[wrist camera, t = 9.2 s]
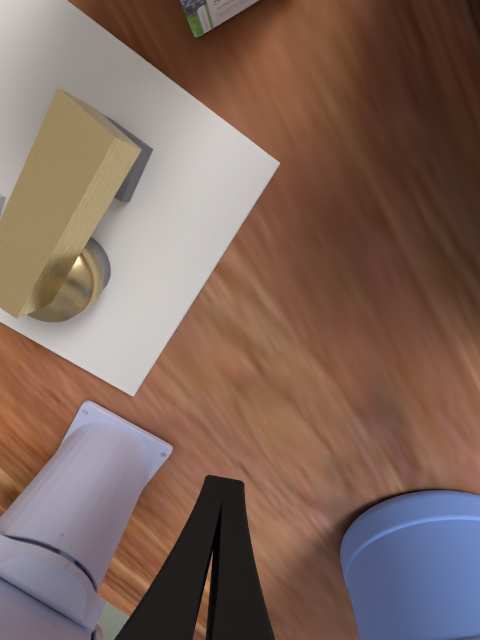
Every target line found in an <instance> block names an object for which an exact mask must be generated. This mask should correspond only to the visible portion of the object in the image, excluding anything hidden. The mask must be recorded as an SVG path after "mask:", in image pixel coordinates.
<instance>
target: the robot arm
mask: <svg viewBox="0 0 480 640" xmlns="http://www.w3.org/2000/svg"><path fill="white" fill-rule="evenodd" d="M172 450H173V447H172V445H170V444H169V443H167V442H165V441H163V440H161V439H160V438H158V437H156V436H154V435H152V434H150V433H149V432H147V431H145V430H143V429H141V428H140V427H138V426H136V425H134V424H132V423H130V422H129V421H127V420H125V419H123V418H121V417H119V416H118V415H116V414H114V413H112V412H110V411H109V410H107V409H105V408H103V407H101V406H99V405H98V404H96V403H94V402H92V401H85V402H84V403H83V404H82V405H81V407H80V409H79V411H78V413H77V415H76V417H75V418H74V420H73V422H72V424H71V426H70V428H69V430H68V431H67V433H66V435H65V437H64V439H63V441H62V443H61V444H60V446H59V448H58V450H57V452H56V453H55V454H54V455H53V457H52V458H51V459H50V460H49V461H48V462H47V464H46V465H45V466H44V467H43V468H42V469H41V471H40V472H39V473H38V474H37V475H36V476H35V478H34V479H33V480H32V481H31V482H30V483H29V485H28V486H27V487H26V488H25V489H24V490H23V492H22V493H21V494H20V495H19V496H18V497H17V499H16V500H15V501H14V502H13V503H12V505H11V506H10V507H9V508H8V509H7V510H6V512H5V513H4V514H3V515H2V516H1V517H0V640H103V633H102V630H101V628H100V627H99V626H98V624H97V622H98V619H99V617H100V615H101V612H102V610H103V607H104V605H105V600H103V599H102V598H101V597H100V596H99V595H98V594H97V593H98V590H99V588H100V586H101V584H102V581H103V579H104V577H105V574H106V572H107V570H108V568H109V565H110V563H111V561H112V558H113V556H114V554H115V552H116V549H117V547H118V545H119V542H120V540H121V538H122V535H123V533H124V531H125V529H126V526H127V524H128V522H129V519H130V517H131V515H132V513H133V510H134V508H135V506H136V503H137V501H138V499H139V497H140V494H141V492H142V490H143V488H144V487H145V486H146V484H147V483H148V482H149V481H150V479H151V478H152V477H153V476H154V474H155V473H156V472H157V471H158V469H159V468H160V467H161V466H162V464H163V463H164V462H165V461H166V459H167V458H168V457H169V456H170V454H171V453H172ZM212 552H213V559H212V570H211V582H210V594H209V606H208V618H207V630H206V640H275V638H274V634H273V631H272V627H271V624H270V620H269V617H268V613H267V609H266V606H265V602H264V598H263V594H262V590H261V586H260V582H259V577H258V573H257V569H256V564H255V560H254V555H253V549H252V544H251V539H250V534H249V528H248V521H247V514H246V505H245V492H244V483H243V482H242V481H240V480H234V479H229V478H223V477H218V476H213V475H208V476H206V477H205V481H204V484H203V487H202V490H201V492H200V495H199V497H198V499H197V502H196V504H195V506H194V508H193V510H192V513H191V515H190V517H189V519H188V521H187V523H186V525H185V526H184V528H183V530H182V532H181V534H180V536H179V538H178V540H177V542H176V544H175V545H174V547H173V549H172V550H171V552H170V554H169V556H168V557H167V559H166V561H165V563H164V564H163V566H162V568H161V569H160V571H159V573H158V574H157V576H156V578H155V579H154V581H153V582H152V584H151V586H150V587H149V589H148V590H147V592H146V593H145V595H144V597H143V598H142V600H141V601H140V603H139V604H138V606H137V607H136V609H135V610H134V612H133V613H132V615H131V616H130V618H129V619H128V620H127V622H126V624H125V625H124V626H123V628H122V629H121V631H120V632H119V634H118V635H117V636H116V638H115V639H114V640H192V639H193V634H194V630H195V625H196V621H197V617H198V612H199V608H200V604H201V599H202V595H203V591H204V586H205V582H206V578H207V573H208V569H209V565H210V560H211V556H212Z"/></svg>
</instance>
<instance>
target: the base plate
mask: <svg viewBox="0 0 480 640" xmlns="http://www.w3.org/2000/svg"><path fill="white" fill-rule="evenodd" d="M58 87H59V88H61V89H62V90H64V91H66V92H68V93H69V94H71V95H73V96H75V97H76V98H78V99H80V100H82V101H83V102H85V103H87V104H89V105H90V106H92V107H94V108H96V109H97V110H98V111H99V112H100V113H101V114H103V115H104V116H105V117H106V118H107V119H108V120H109V121H110V122H111V123H113V124H114V125H115V126H116V127H117V128H118V129H119V130H120V131H122V132H123V133H124V134H125V135H126V136H127V137H128V138H129V139H130V140H132V141H133V142H134V143H135V144H136V145H137V146H138V147H139V148H140V149H142V150H141V152H140V154H139V155H138V157H137V159H136V160H135V162H134V164H133V166H132V167H131V169H130V171H129V172H128V174H127V176H126V177H125V179H124V181H123V182H122V184H121V186H120V188H119V189H118V191H117V193H116V194H115V196H114V198H113V199H112V201H111V203H110V205H109V206H108V208H107V210H106V211H105V213H104V215H103V216H102V218H101V220H100V221H99V223H98V225H97V227H96V228H95V230H94V232H93V233H92V235H91V237H90V238H89V240H88V243H89V244H90V245H91V247H92V248H93V249H94V251H95V253H96V254H97V256H98V258H99V260H100V263H101V266H102V270H103V276H104V284H103V290H102V293H101V295H100V297H99V299H98V300H97V302H96V303H95V304H94V305H93V306H91V307H90V308H88V309H87V310H85V311H83V312H81V313H80V314H78V315H76V316H74V317H73V318H71V319H69V320H66V321H63V322H56V323H53V322H44V321H40V320H37V319H34V318H32V317H30V316H28V315H24V316H22V317H20V318H18V319H16V318H14V317H13V316H11V315H10V314H8V313H7V312H5V311H4V310H3V309H1V308H0V322H1V323H3V324H5V325H7V326H8V327H10V328H12V329H14V330H16V331H17V332H19V333H21V334H23V335H24V336H26V337H28V338H30V339H31V340H33V341H35V342H37V343H39V344H40V345H42V346H44V347H46V348H47V349H49V350H51V351H53V352H55V353H56V354H58V355H60V356H62V357H63V358H65V359H67V360H69V361H70V362H72V363H74V364H76V365H78V366H79V367H81V368H83V369H85V370H86V371H88V372H90V373H92V374H93V375H95V376H97V377H99V378H101V379H102V380H104V381H106V382H108V383H109V384H111V385H113V386H115V387H117V388H118V389H120V390H122V391H124V392H125V393H127V394H129V395H131V396H132V397H133V396H134V395H135V393H136V392H137V391H138V389H139V387H140V386H141V384H142V383H143V381H144V379H145V378H146V376H147V375H148V373H149V372H150V370H151V368H152V367H153V365H154V364H155V362H156V360H157V359H158V357H159V356H160V354H161V353H162V351H163V349H164V348H165V346H166V345H167V343H168V341H169V340H170V338H171V337H172V335H173V334H174V332H175V330H176V329H177V327H178V326H179V324H180V322H181V321H182V319H183V318H184V316H185V314H186V313H187V311H188V310H189V308H190V307H191V305H192V303H193V302H194V300H195V299H196V297H197V295H198V294H199V292H200V291H201V289H202V288H203V286H204V284H205V283H206V281H207V280H208V278H209V276H210V275H211V273H212V272H213V270H214V268H215V267H216V265H217V264H218V262H219V261H220V259H221V257H222V256H223V254H224V253H225V251H226V249H227V248H228V246H229V245H230V243H231V242H232V240H233V238H234V237H235V235H236V234H237V232H238V230H239V229H240V227H241V226H242V224H243V222H244V221H245V219H246V218H247V216H248V215H249V213H250V211H251V210H252V208H253V207H254V205H255V203H256V202H257V200H258V199H259V197H260V196H261V194H262V192H263V191H264V189H265V188H266V186H267V184H268V183H269V181H270V180H271V178H272V177H273V175H274V173H275V172H276V170H277V169H278V167H279V165H280V163H279V162H278V161H277V160H276V159H274V158H273V157H272V156H270V155H269V154H268V153H266V152H265V151H264V150H262V149H261V148H260V147H259V146H257V145H256V144H255V143H253V142H252V141H251V140H249V139H248V138H247V137H245V136H244V135H243V134H241V133H240V132H239V131H238V130H236V129H235V128H234V127H232V126H231V125H230V124H228V123H227V122H226V121H224V120H223V119H222V118H221V117H219V116H218V115H217V114H215V113H214V112H213V111H211V110H210V109H209V108H207V107H206V106H205V105H204V104H202V103H201V102H200V101H198V100H197V99H196V98H194V97H193V96H192V95H190V94H189V93H188V92H186V91H185V90H184V89H183V88H181V87H180V86H179V85H177V84H176V83H175V82H173V81H172V80H171V79H169V78H168V77H167V76H166V75H164V74H163V73H162V72H160V71H159V70H158V69H156V68H155V67H154V66H152V65H151V64H150V63H149V62H147V61H146V60H145V59H143V58H142V57H141V56H139V55H138V54H137V53H135V52H134V51H133V50H132V49H130V48H129V47H128V46H126V45H125V44H124V43H122V42H121V41H120V40H118V39H117V38H116V37H114V36H113V35H112V34H111V33H109V32H108V31H107V30H105V29H104V28H103V27H101V26H100V25H99V24H97V23H96V22H95V21H94V20H92V19H91V18H90V17H88V16H87V15H86V14H84V13H83V12H82V11H80V10H79V9H78V8H77V7H75V6H74V5H73V4H71V3H70V2H69V1H67V0H0V219H1V217H2V214H3V212H4V210H5V207H6V205H7V203H8V201H9V198H10V196H11V194H12V191H13V189H14V187H15V185H16V182H17V180H18V178H19V175H20V173H21V171H22V168H23V166H24V164H25V162H26V159H27V157H28V155H29V152H30V150H31V148H32V146H33V143H34V141H35V139H36V136H37V134H38V132H39V130H40V127H41V125H42V123H43V120H44V118H45V116H46V114H47V111H48V109H49V107H50V104H51V102H52V100H53V98H54V95H55V93H56V91H57V88H58Z"/></svg>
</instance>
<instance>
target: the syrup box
mask: <svg viewBox="0 0 480 640" xmlns="http://www.w3.org/2000/svg"><path fill="white" fill-rule="evenodd" d="M257 1H259V0H180V3H181V5H182V8H183V10H184V13H185V15H186V18H187V20H188V23H189V25H190V28H191V31H192V33H193V36H194V37H196V38H197V37H199V36H201V35H203V34H204V33H206V32H208V31H210V30H211V29H213V28H215V27H216V26H218V25H220V24H221V23H223V22H225V21H226V20H228V19H229V18H231V17H233V16H234V15H236V14H238V13H239V12H241V11H243V10H245V9H246V8H248V7H249V6H251V5H253V4H254V3H256V2H257Z"/></svg>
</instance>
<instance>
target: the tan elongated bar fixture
mask: <svg viewBox="0 0 480 640" xmlns="http://www.w3.org/2000/svg"><path fill="white" fill-rule="evenodd" d="M141 150H142V149H140V148H139V147H138V146H137V145H136V144H135V143H134V142H133V141H132V140H130V139H129V138H128V137H127V136H126V135H125V134H124V133H123V132H122V131H120V130H119V129H118V128H117V127H116V126H115V125H114V124H113V123H111V122H110V121H109V120H108V119H107V118H106V117H105V116H104V115H103V114H101V113H100V112H99V111H98V110H97V109H96V108H94V107H92V106H90V105H89V104H87V103H85V102H83V101H82V100H80V99H78V98H76V97H75V96H73V95H71V94H69V93H68V92H66V91H64V90H62V89H61V88H59V87H58V88H57V91H56V93H55V95H54V98H53V100H52V102H51V104H50V107H49V109H48V111H47V114H46V116H45V118H44V120H43V123H42V125H41V127H40V130H39V132H38V134H37V136H36V139H35V141H34V143H33V146H32V148H31V150H30V152H29V155H28V157H27V159H26V162H25V164H24V166H23V168H22V171H21V173H20V175H19V178H18V180H17V182H16V185H15V187H14V189H13V191H12V194H11V196H10V198H9V201H8V203H7V205H6V207H5V210H4V212H3V214H2V217H1V219H0V308H1V309H3V310H4V311H5V312H7V313H8V314H10V315H11V316H13V317H14V318H16V319H18V318H20V317H22V316H24V315H28V316H30V317H32V318H34V319H37V320H40V321H44V322H53V323H56V322H63V321H66V320H69V319H71V318H73V317H74V316H76V315H78V314H80V313H81V312H83V311H85V310H87V309H88V308H90V307H91V306H93V305H94V304H95V303H96V302H97V300H98V299H99V297H100V295H101V293H102V290H103V284H104V276H103V270H102V266H101V263H100V260H99V258H98V256H97V254H96V253H95V251H94V249H93V248H92V247H91V245H90V244H89V243H88V240H89V238H90V237H91V235H92V233H93V232H94V230H95V228H96V227H97V225H98V223H99V221H100V220H101V218H102V216H103V215H104V213H105V211H106V210H107V208H108V206H109V205H110V203H111V201H112V199H113V198H114V196H115V194H116V193H117V191H118V189H119V188H120V186H121V184H122V182H123V181H124V179H125V177H126V176H127V174H128V172H129V171H130V169H131V167H132V166H133V164H134V162H135V160H136V159H137V157H138V155H139V154H140V152H141Z"/></svg>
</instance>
